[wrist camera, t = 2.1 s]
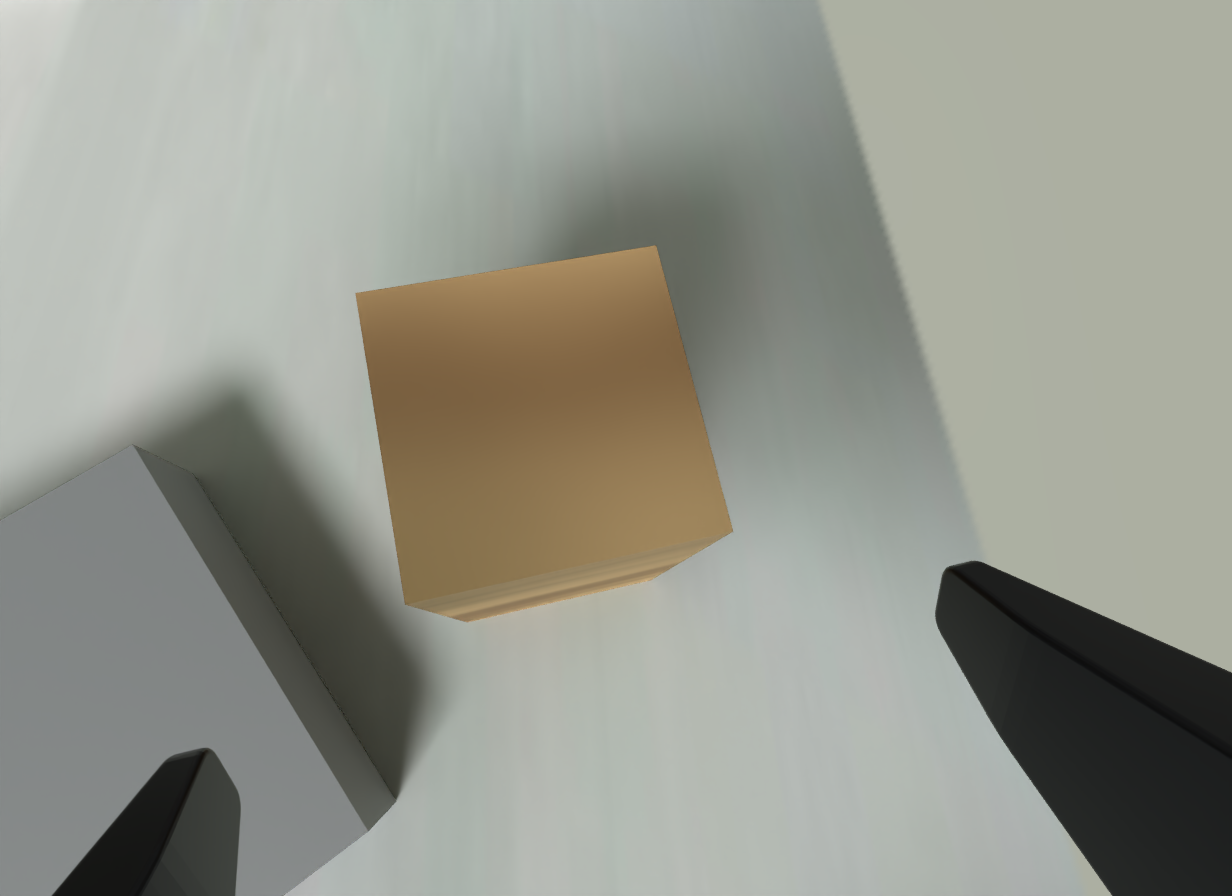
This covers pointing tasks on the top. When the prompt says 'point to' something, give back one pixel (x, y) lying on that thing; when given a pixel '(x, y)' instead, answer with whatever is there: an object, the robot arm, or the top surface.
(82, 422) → the top surface
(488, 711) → the top surface
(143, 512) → the gray plinth
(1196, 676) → the robot arm
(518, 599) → the caramel block
